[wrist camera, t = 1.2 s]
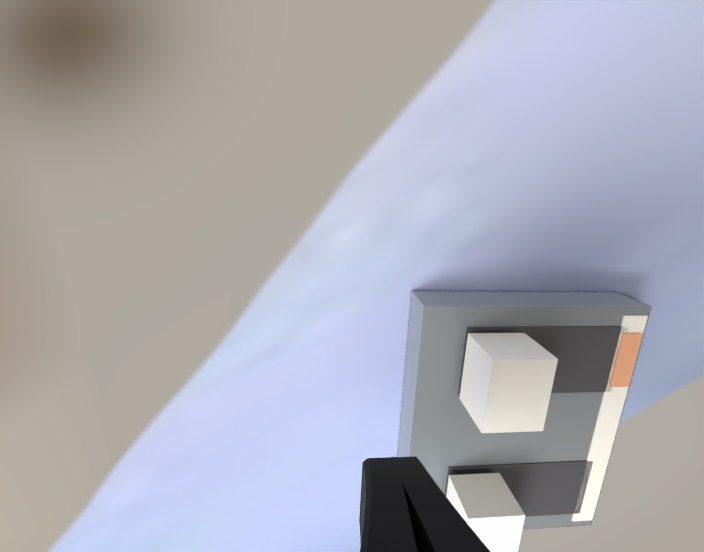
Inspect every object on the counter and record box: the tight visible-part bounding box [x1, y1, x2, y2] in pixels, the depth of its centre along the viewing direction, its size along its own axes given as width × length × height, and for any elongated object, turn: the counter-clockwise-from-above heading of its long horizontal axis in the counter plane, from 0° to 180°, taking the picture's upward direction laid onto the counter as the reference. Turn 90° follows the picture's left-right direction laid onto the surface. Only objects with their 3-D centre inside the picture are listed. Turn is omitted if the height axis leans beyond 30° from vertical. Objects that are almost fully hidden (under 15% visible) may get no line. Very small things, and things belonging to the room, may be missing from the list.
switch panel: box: [397, 291, 651, 530], centre depth 18 cm, size 12×10×2 cm
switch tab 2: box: [446, 473, 525, 552], centre depth 16 cm, size 3×2×2 cm
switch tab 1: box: [459, 333, 558, 433], centre depth 15 cm, size 3×2×2 cm
